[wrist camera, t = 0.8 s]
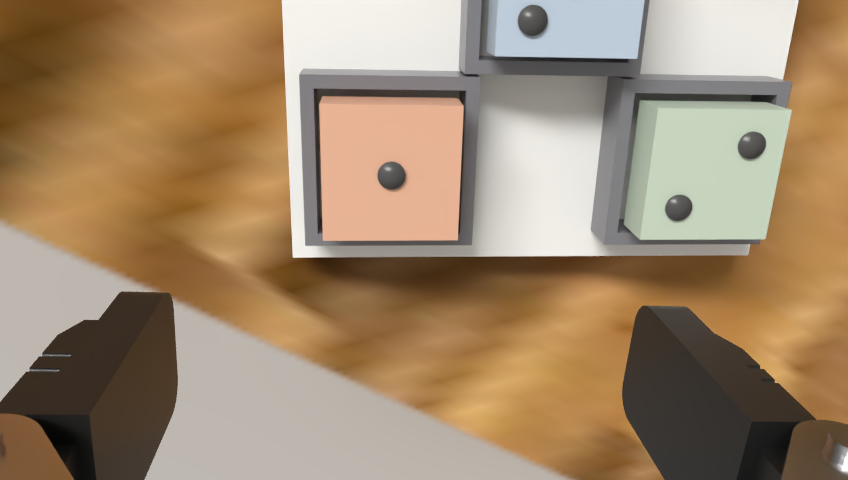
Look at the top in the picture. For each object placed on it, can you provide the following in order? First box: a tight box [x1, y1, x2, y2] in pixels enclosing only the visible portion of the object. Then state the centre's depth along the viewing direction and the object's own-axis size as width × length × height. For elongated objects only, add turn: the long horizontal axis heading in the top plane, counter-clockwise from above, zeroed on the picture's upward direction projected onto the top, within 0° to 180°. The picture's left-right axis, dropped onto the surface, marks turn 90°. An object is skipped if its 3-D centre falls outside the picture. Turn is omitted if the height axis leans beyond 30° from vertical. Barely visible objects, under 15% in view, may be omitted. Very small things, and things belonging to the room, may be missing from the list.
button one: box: [319, 96, 464, 241], centre depth 26 cm, size 5×5×2 cm
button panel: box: [282, 0, 799, 258], centre depth 28 cm, size 20×15×4 cm
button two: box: [624, 100, 792, 240], centre depth 27 cm, size 5×5×2 cm
